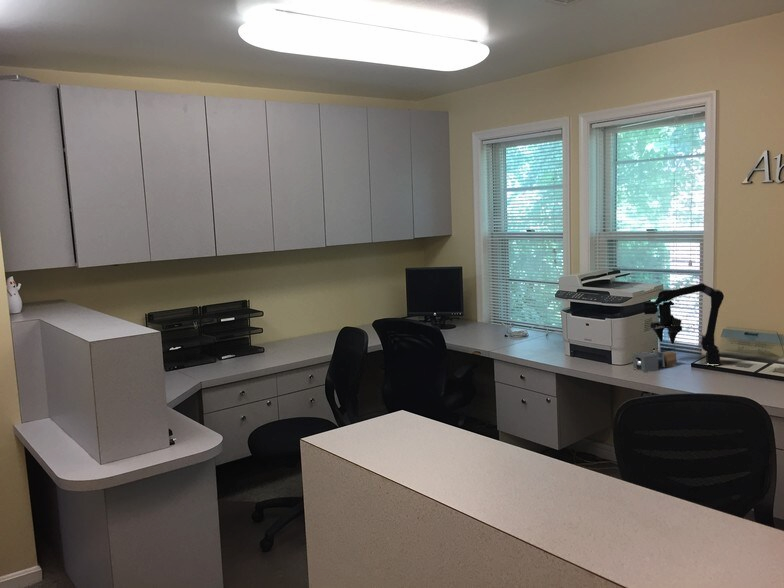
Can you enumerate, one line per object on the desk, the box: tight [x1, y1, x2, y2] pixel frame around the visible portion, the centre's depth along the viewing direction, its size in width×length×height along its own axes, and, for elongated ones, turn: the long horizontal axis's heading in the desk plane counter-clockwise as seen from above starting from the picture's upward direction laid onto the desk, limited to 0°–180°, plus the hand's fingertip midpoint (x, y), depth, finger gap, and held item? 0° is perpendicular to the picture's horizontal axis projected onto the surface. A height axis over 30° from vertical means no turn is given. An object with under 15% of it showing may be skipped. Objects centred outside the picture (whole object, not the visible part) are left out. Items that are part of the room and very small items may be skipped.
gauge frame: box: [632, 351, 659, 373], centre depth 343 cm, size 14×18×8 cm
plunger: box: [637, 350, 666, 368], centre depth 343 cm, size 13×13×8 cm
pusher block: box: [663, 350, 678, 368], centre depth 343 cm, size 5×6×7 cm
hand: (667, 342), depth 343 cm, fingers open, 9 cm apart
